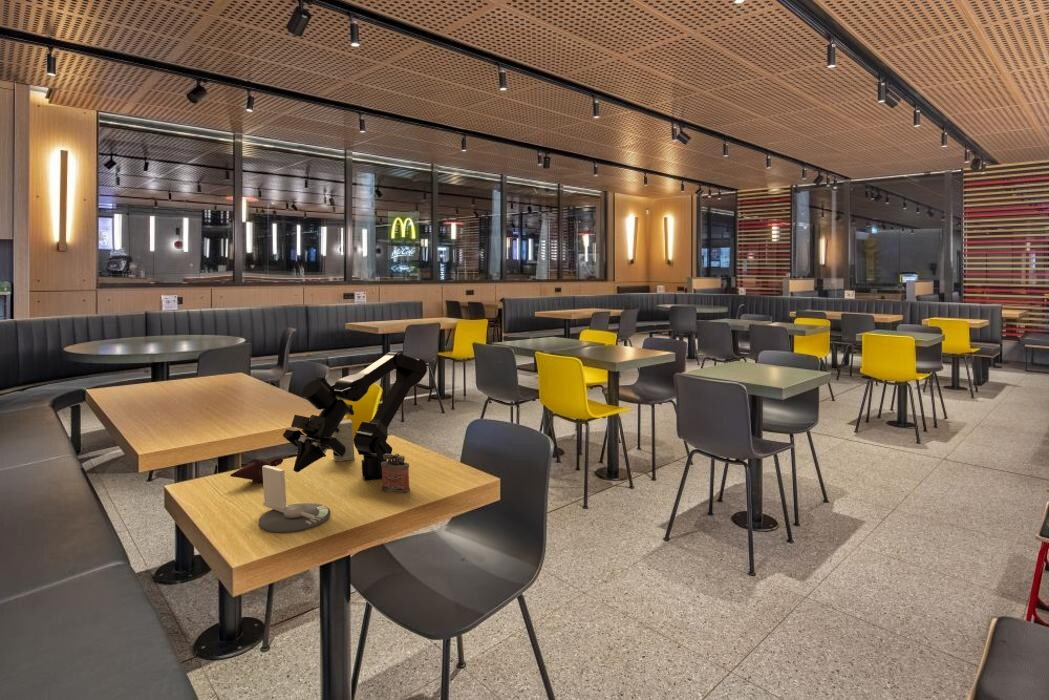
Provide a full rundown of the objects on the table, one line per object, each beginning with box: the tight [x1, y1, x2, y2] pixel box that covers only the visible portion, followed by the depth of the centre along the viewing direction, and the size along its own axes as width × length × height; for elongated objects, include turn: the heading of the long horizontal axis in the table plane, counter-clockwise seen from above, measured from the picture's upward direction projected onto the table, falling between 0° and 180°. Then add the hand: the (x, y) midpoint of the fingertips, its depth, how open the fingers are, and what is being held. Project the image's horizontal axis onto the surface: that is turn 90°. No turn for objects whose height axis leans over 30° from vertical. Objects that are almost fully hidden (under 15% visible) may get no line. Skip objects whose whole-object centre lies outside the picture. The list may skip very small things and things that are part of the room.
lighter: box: [381, 453, 411, 494], centre depth 165 cm, size 8×3×10 cm, turn 71°
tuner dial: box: [258, 502, 331, 534], centre depth 147 cm, size 16×16×1 cm
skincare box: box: [332, 418, 356, 462], centre depth 193 cm, size 6×4×12 cm
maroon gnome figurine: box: [229, 456, 284, 484], centre depth 173 cm, size 7×7×15 cm
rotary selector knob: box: [262, 465, 315, 519], centre depth 147 cm, size 18×5×10 cm, turn 57°
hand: (295, 471), depth 154 cm, fingers closed
